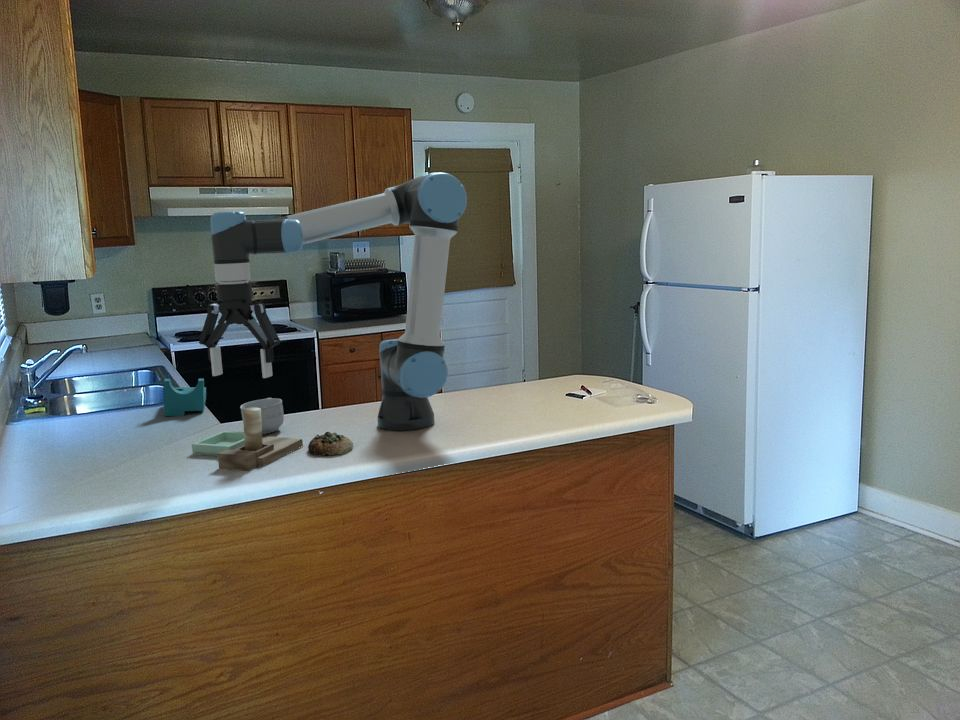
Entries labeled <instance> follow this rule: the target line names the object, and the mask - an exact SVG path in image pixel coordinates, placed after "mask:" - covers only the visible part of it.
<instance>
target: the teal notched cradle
mask: <svg viewBox="0 0 960 720" xmlns="http://www.w3.org/2000/svg"><path fill="white" fill-rule="evenodd" d="M206 400H207V387H206V386H205V379H204V378H198V380H197V384H196V385H195V387H194V386H193V387H192V386H191V387H190V386H189V387H187V386H186V387H175V386H173V384H172V381H171V378H165V379H164V381H163V404H164V405H163V406H164V407H163V408H164V409H163V410H164V412H163V413H164V415H163V416H164V417H182V416H185V414H186V412H196V411H197V412H201V411H204V410H205V407H206Z"/></svg>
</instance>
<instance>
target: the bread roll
mask: <svg viewBox="0 0 960 720" xmlns="http://www.w3.org/2000/svg"><path fill="white" fill-rule="evenodd" d="M353 447H354V442H353V440H352V439H351V438H349V437H347V436H345V435H343V434H338V433H337V432H333V433H332V432H330V431H325V433H324V434H321V435H319V433H318V434H316V435H315V436H314V437H313V438H311V440H310V441H309V442H308V445H307V449H308V452H309V454H311V455H315V456H326V455H328V456H337V455H342V454H347V453H349V452H350V451H351V450H352V449H353Z"/></svg>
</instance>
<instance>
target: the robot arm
mask: <svg viewBox="0 0 960 720" xmlns="http://www.w3.org/2000/svg"><path fill="white" fill-rule="evenodd" d="M467 203H468V195H467V192H466V188H465V187H464V185H463V184H462V182H461V181H460V180H459V179H458V178H457V177H455V176H454V175H452V174H450V173H447V172H436V171H434V172H431V173H428V174H425V175H421V176H417V177H415V178H413V179H410V180H408V181H405V182H404V183H400V184H398V185H395V186H392V187H391V186H390V187H387V188H385V190H384V191H383V193H379V194H376V195H371V196H366V197H361V198H357V199H354V200H349V201H345V202H340V203H337V204H332V205H327V206H324V207H323V206H322V207H320V208H315V209H311V210H307V211H303V212H299V213H294V214H293V213H292V214H290V215H286V216H281V217H277V218H272V219H263V220H260V219H259V220H251V219H250V220H249V219H247V217H246V214H245V212H244V211H218V212H214V213H213V214H212V215H211V216H210V236H211V237H210V238H211V245H212V255H213V256H212V257H213V265H214V266H213V267H214V279H215V282H217V283H218V284H217V283H216V284H217V285H216V287H215V288H216V297H217V300H218V301H219V304H218V303H211V304H210V303H209V304H207V306H206V307H207V311H206V312H207V315H206V318H205V320H204V321H205V322H204V324H203V327H202V330H201V334H200V337H199V340H198V342H199V343H198V344H199V345H203V346H205V347H206V348H207V357H208V361H209V362H210V363H211V366H210V367H211V374H212V375H211V376H212V377H218V376H221V375H224V374H223V373H224V372H223V363H222V362H223V361H222V352H221V351H222V350H221V346H220V345H219V342H220V340H221V338H222V337H223V336H224V334H225V332H226V331H227V330H228V327H229V326H230V325H234V324H235V325H243V326H245V327H246V328H247V329H248V330H249V332H251V334H252V335H253V336H254V338H256V339H255V340H257V341H258V343H259V344H260V346H261V347H262V348H261V349H259V350H260V351H259V352H260V353H259V354H260V362H261V373H262V376H261V377H262V379H267V378H271V377H273V374H274V373H273V364H272V363H274V361H275V357H274V354H275V353H274V347H276V346H278V345H280V344H281V343H282V342H281V340H280V337H279V336H278V333H277V332H276V329H275V327H274V325H273V324H272V322H271V319H270V318H269V316H268V314H267V310H266V306H265V303H263V302H262V303H258V304H257V303H256V304H253V302H252V299H253V288H252V287H253V286H252V283H251V282H249V281H250V280H251V277H252V276H251V267H250V265H251V264H250V255H264V254H265V255H269V254H271V255H272V254H288V255H289V254H291V253H299V252H301V251H302V250H303V248H304V245H306V244H311V243H314V242H318V241H319V242H320V241H322V240H326V239H331V238H336V237H339V236H343V235H347V234H348V235H349V234H351V233H355V232H359V231H365V230H369V229H372V228H376V227H381V226H384V225H389V224H392V225H393V226H395V227H397V226H401V225H406V224H409V228H410V230H411V231H412V232H413V234H414V243H413V251H412V252H413V253H412V262H411V271H410V272H411V273H410V278H409V279H410V280H409V290H408V299H407V300H408V301H407V309H406V310H407V311H406V319H405V328H404V333H403V334H402V335H400V336H399V338H395V339H386V340H382V341H381V342H380V343H379V352H378V355H379V365H380V377H381V379H380V380H381V391H382V392H381V393H382V394H381V395H382V398H381V401H380V407H379V411H378V413H377V427H378V428H380V429H382V430H386V431H396V432H397V431H412V430H420V429H423V428H427V427H430V426H432V425H433V424H435V413H434V410H433V407H432V405H431V403H430V400H429V398H430V397H432V396H434V395H436V394H437V393H439V392H440V391H441V390H443V387H444V386H445V384H446V382H447V381H448V375H449V371H448V370H449V369H448V365H447V363H446V361H445V359H444V358H445V357H444V356H445V355H444V354H445V346H446V344H445V342H444V341H443V339H442V338H441V336H440V334H441V327H442V326H441V325H442V318H443V308H444V299H445V291H446V290H445V289H446V280H447V271H448V270H447V269H448V263H449V262H448V261H449V253H450V243H451V239H452V238H453V237H454V236H455V235H457V234H458V227H459V221H460V220H459V219H460V218H461V217H462V215H463V214H464V213H465V211H466V208H467V205H468V204H467ZM219 314H221V316H220V318H219ZM254 315H255V316H254ZM218 318H219V319H218ZM217 320H218V321H217ZM216 324H217V325H216Z"/></svg>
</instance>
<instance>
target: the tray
mask: <svg viewBox="0 0 960 720" xmlns="http://www.w3.org/2000/svg"><path fill="white" fill-rule="evenodd" d="M243 445H245V442H244V431H230V430H222V431H221V432H217V433H215V434H213V435H210V436H208V437H206V438H203V439H201V440H199V441H195V442H193V443H191V451H192V455H198V454H200V455H201V456H202V455H203V456H211V455H213V456H215V457H218V454H217V453H219V452H222V451H224V450H234V449H236V448H239V447H241V446H243ZM200 455H199V456H200ZM213 456H212V457H213Z"/></svg>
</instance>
